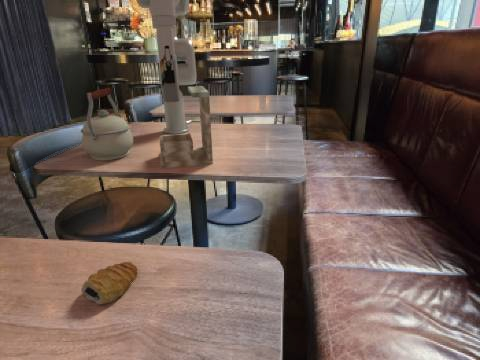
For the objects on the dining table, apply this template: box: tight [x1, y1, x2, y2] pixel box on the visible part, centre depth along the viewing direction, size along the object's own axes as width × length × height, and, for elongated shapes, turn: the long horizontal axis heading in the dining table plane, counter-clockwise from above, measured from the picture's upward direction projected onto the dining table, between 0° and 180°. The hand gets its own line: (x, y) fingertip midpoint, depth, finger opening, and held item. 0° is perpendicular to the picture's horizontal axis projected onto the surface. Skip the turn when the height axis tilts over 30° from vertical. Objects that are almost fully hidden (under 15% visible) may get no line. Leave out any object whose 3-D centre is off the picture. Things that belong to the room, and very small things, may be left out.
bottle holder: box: [159, 85, 214, 169], centre depth 114 cm, size 18×18×25 cm
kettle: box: [80, 87, 134, 161], centre depth 121 cm, size 25×18×25 cm
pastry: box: [81, 261, 139, 305], centre depth 55 cm, size 9×7×4 cm
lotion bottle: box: [158, 52, 180, 103], centre depth 106 cm, size 6×6×20 cm
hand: (170, 81), depth 108 cm, fingers closed on lotion bottle, 5 cm apart
